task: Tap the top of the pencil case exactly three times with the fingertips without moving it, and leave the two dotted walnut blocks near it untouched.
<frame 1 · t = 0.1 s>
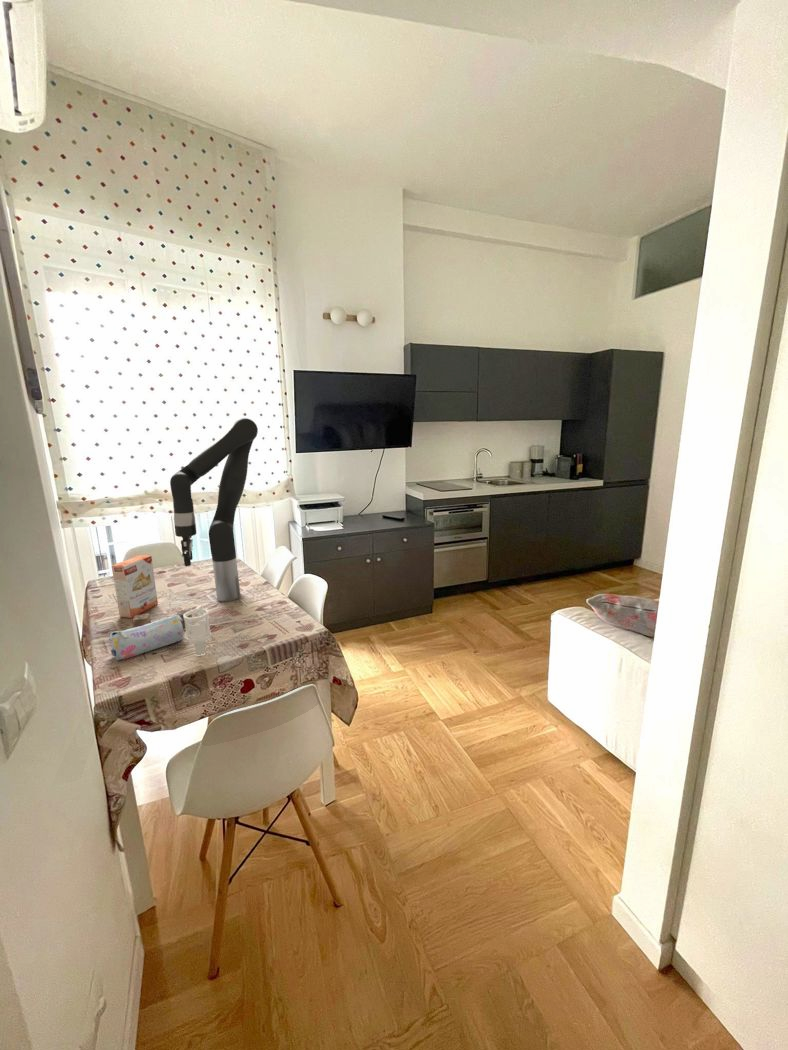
hand: (188, 562, 172), 17 cm above the table, tool pointing down, fingers open, 8 cm apart
three-dot block: (143, 628, 155), on the table
strainer: (201, 654, 136), on the table
pencil case: (150, 649, 140), on the table
two-dot block: (185, 623, 157), on the table
cracker box: (140, 611, 170), on the table
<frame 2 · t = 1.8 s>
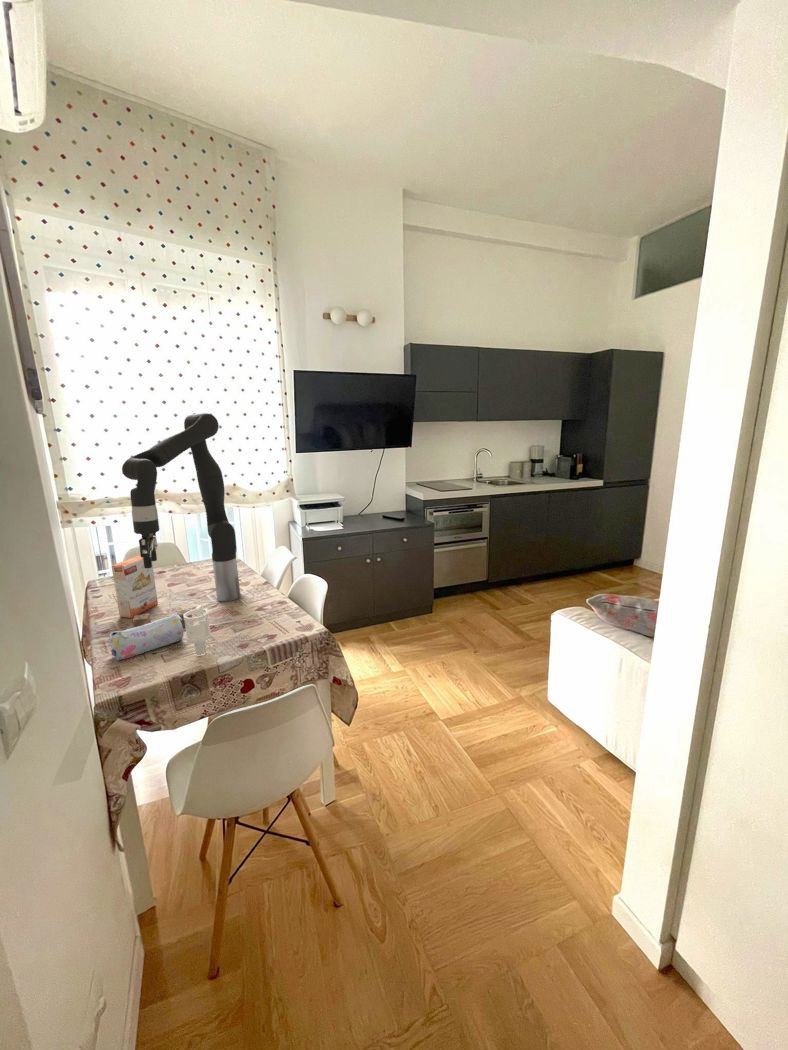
hand: (151, 564, 148), 24 cm above the table, tool pointing down, fingers open, 8 cm apart
nothing on the table moved.
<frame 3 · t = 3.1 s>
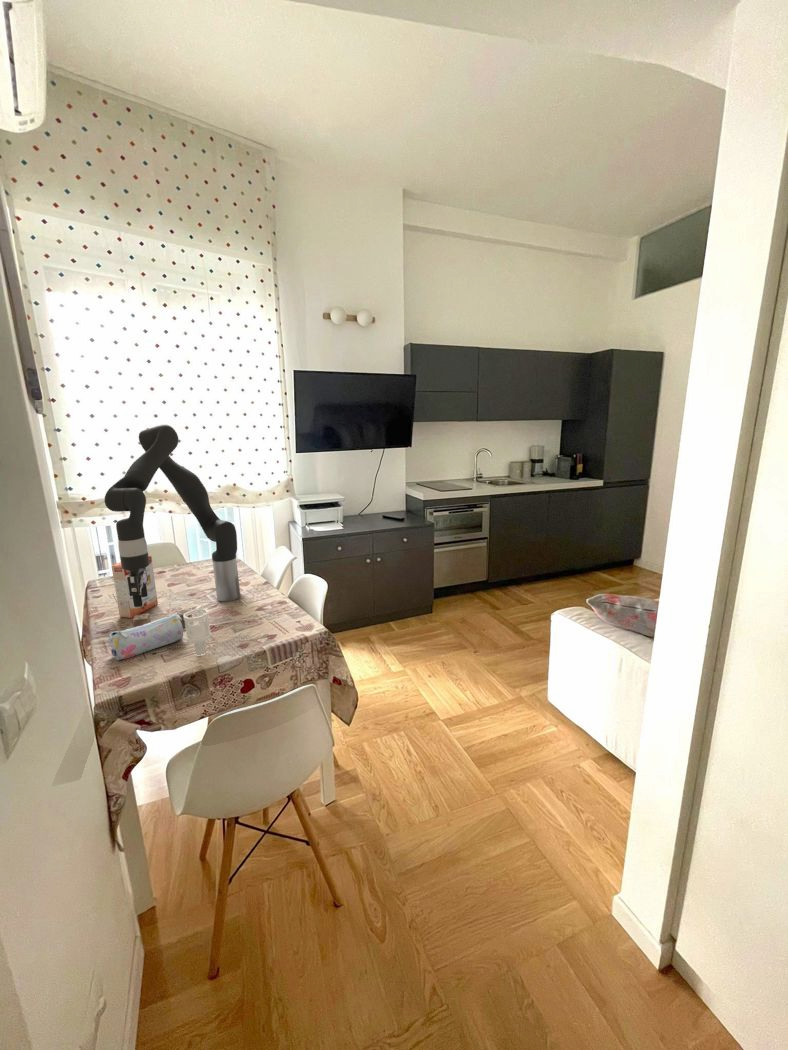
hand: (141, 601, 136), 17 cm above the table, tool pointing down, fingers open, 8 cm apart
nothing on the table moved.
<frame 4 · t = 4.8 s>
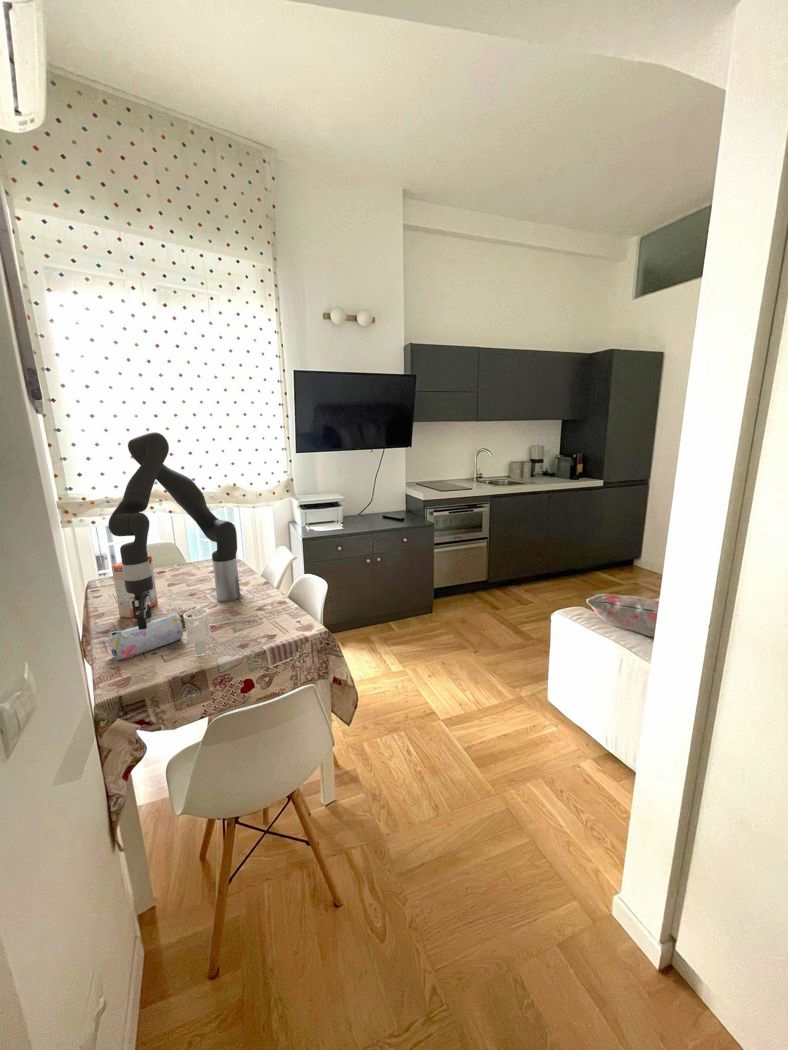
hand: (145, 623, 138), 9 cm above the table, tool pointing down, fingers open, 8 cm apart
nothing on the table moved.
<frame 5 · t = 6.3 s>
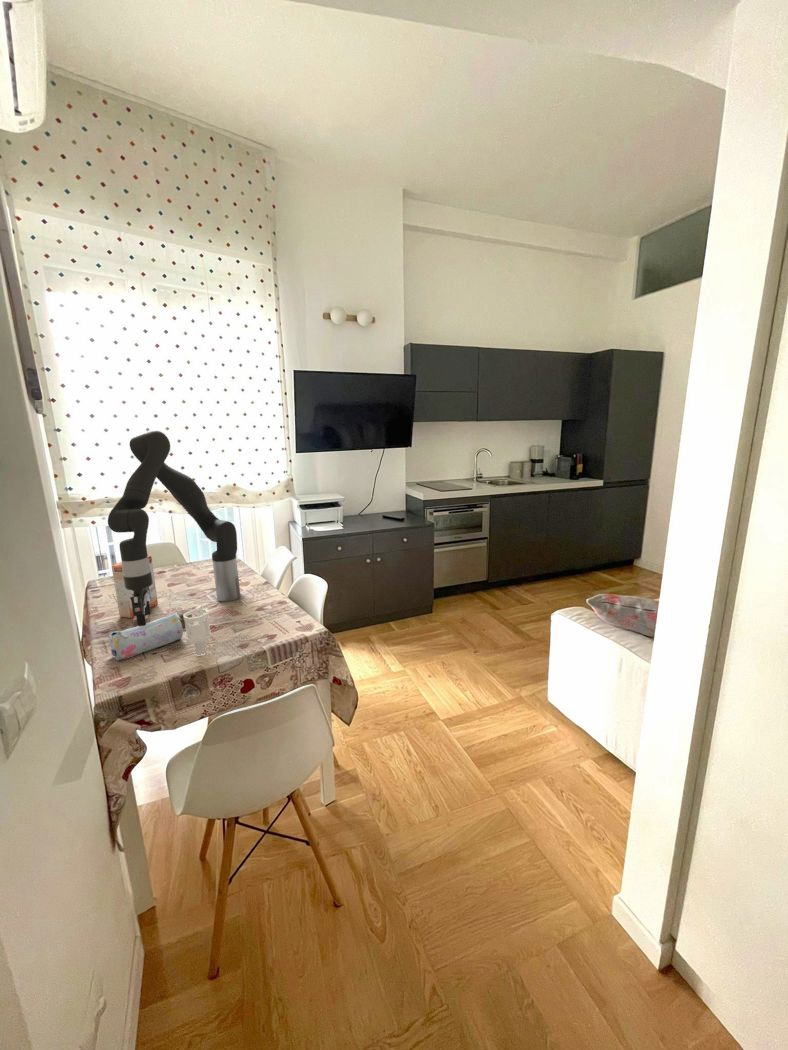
hand: (144, 620, 137), 10 cm above the table, tool pointing down, fingers open, 8 cm apart
nothing on the table moved.
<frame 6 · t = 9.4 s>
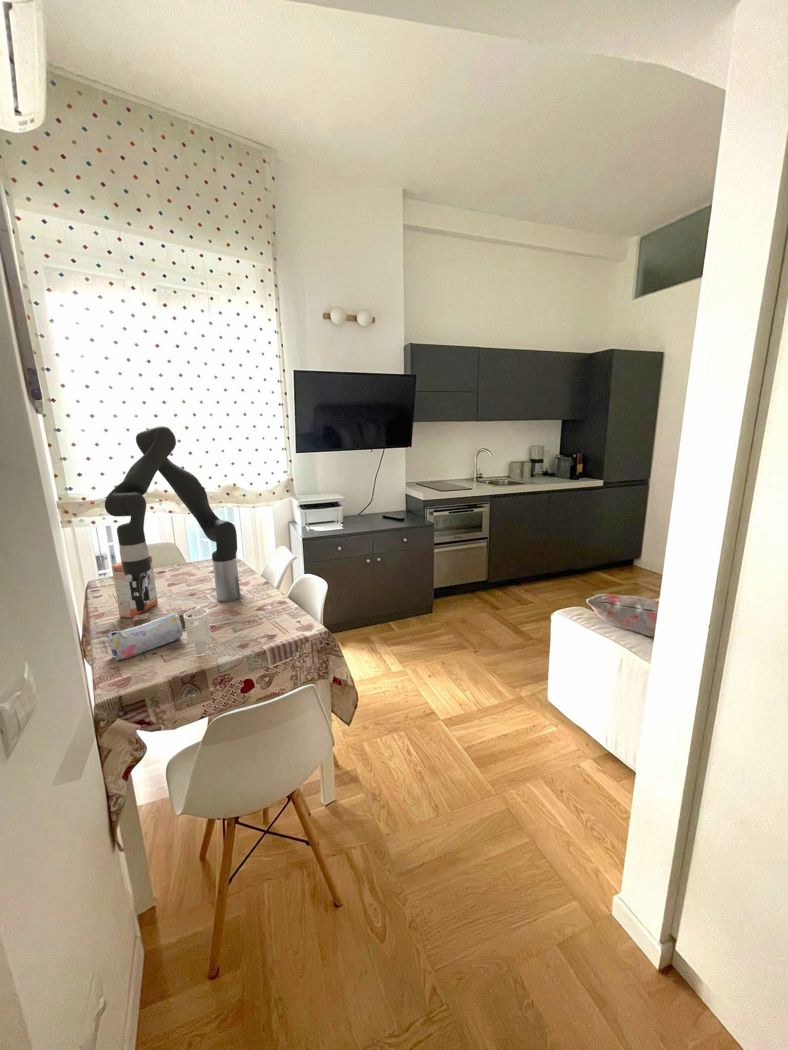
hand: (143, 605, 136), 15 cm above the table, tool pointing down, fingers open, 8 cm apart
nothing on the table moved.
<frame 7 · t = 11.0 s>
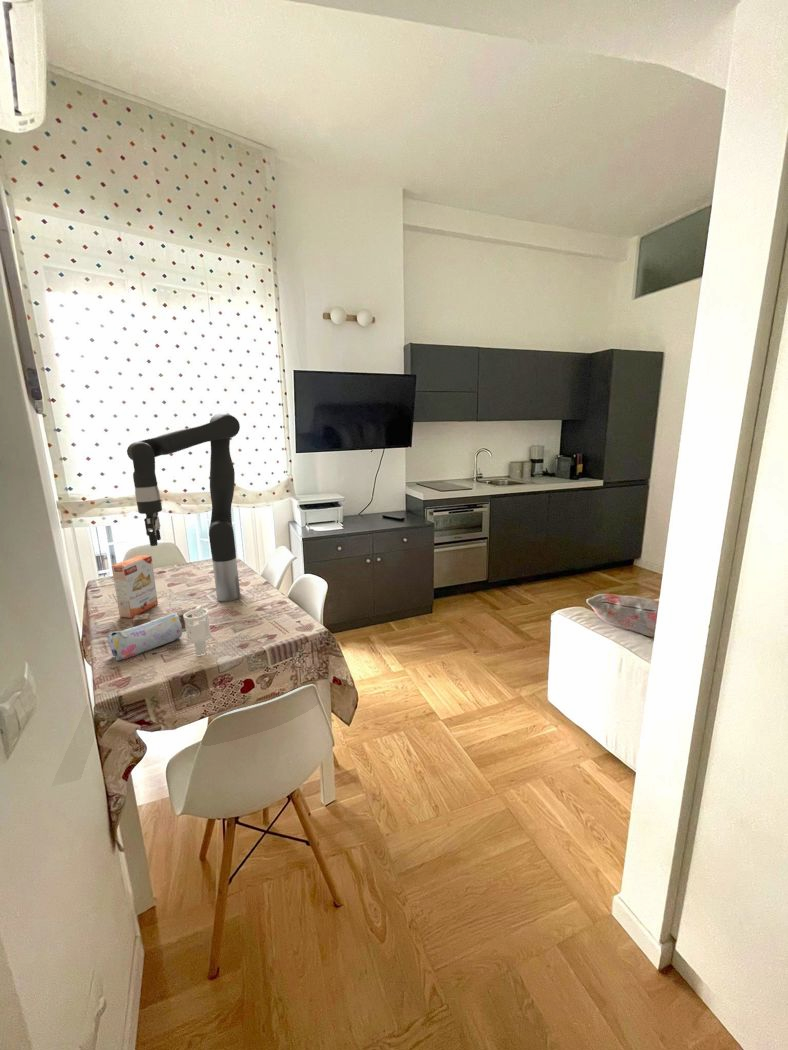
hand: (155, 542, 157), 29 cm above the table, tool pointing down, fingers open, 8 cm apart
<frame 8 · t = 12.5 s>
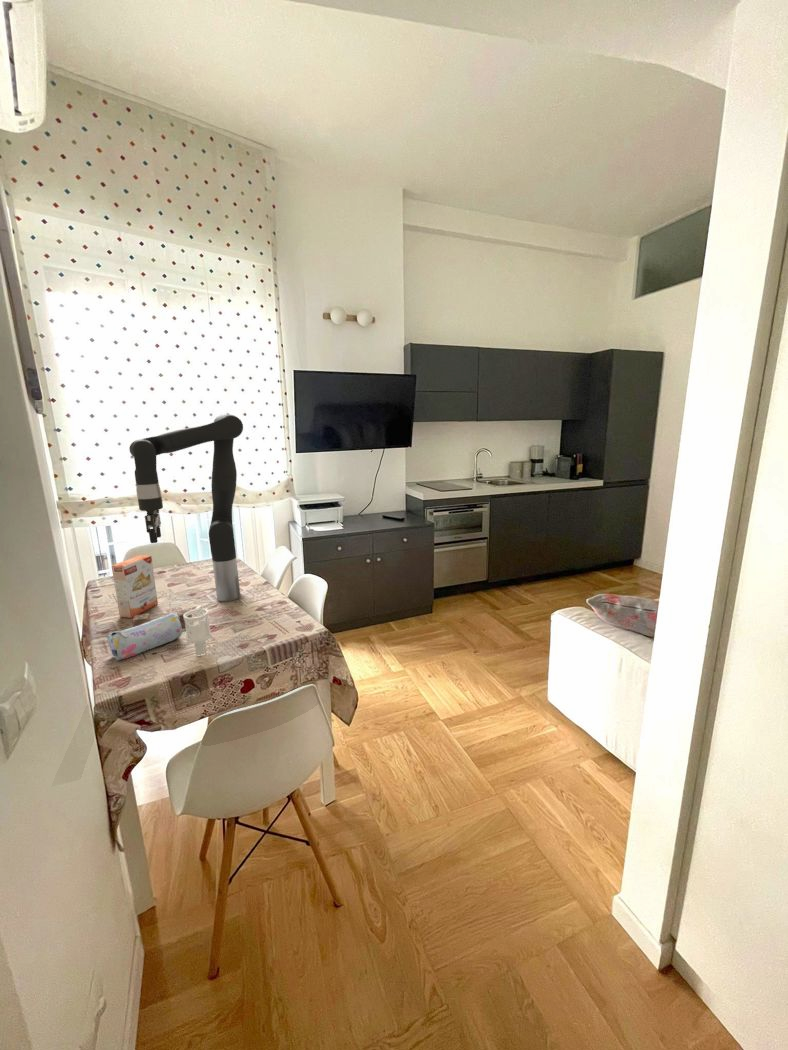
hand: (156, 540, 157), 30 cm above the table, tool pointing down, fingers open, 8 cm apart
at the end: pencil case moved 1.2 cm from its start; two-dot block moved 0.1 cm from its start; three-dot block moved 0.1 cm from its start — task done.
